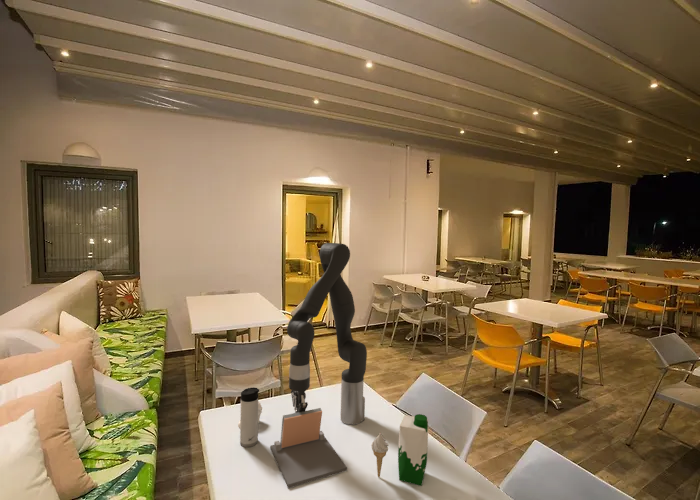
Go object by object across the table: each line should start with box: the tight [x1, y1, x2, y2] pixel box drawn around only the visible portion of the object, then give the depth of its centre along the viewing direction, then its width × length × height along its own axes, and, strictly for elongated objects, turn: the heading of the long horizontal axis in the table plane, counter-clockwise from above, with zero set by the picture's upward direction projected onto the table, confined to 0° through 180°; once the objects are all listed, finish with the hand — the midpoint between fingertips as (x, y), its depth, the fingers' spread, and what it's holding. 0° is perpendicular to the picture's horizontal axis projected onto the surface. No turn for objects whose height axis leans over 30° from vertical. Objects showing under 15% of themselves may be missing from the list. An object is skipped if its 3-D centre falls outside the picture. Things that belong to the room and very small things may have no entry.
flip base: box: [269, 430, 348, 489], centre depth 125 cm, size 20×22×3 cm
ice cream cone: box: [370, 431, 389, 478], centre depth 117 cm, size 6×6×15 cm
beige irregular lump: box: [237, 401, 263, 430], centre depth 146 cm, size 6×8×12 cm
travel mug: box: [239, 387, 260, 448], centre depth 134 cm, size 6×7×20 cm
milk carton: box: [397, 413, 429, 487], centre depth 117 cm, size 9×9×20 cm
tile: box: [279, 407, 323, 448], centre depth 131 cm, size 14×2×12 cm, turn 116°
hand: (298, 421), depth 134 cm, fingers closed
